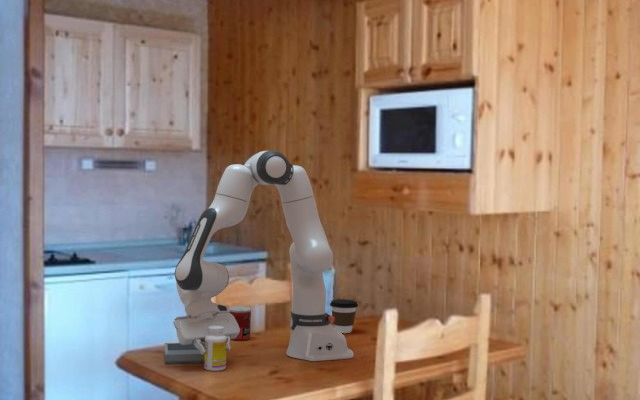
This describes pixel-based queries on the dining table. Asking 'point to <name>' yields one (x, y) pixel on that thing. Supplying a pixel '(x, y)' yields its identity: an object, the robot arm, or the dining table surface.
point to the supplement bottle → (215, 349)
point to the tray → (182, 354)
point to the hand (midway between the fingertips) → (216, 351)
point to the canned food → (242, 322)
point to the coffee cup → (343, 314)
